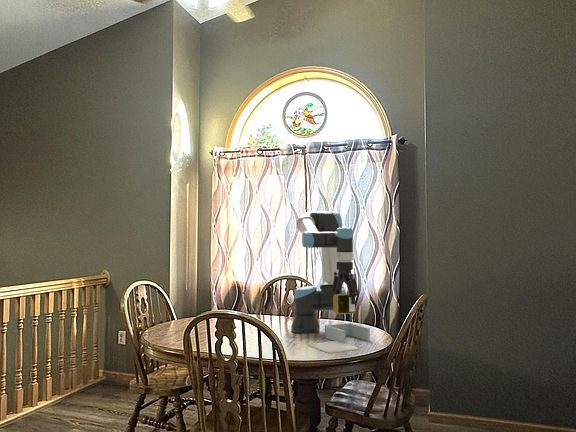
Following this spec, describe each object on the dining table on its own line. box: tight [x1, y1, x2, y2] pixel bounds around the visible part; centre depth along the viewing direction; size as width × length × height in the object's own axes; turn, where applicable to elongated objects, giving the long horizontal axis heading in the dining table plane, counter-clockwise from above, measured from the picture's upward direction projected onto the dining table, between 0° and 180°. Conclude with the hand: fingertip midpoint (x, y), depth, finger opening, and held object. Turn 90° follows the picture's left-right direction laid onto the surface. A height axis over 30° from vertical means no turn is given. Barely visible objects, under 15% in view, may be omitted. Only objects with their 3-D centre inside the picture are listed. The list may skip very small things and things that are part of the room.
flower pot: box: [333, 293, 356, 315], centre depth 241 cm, size 9×9×9 cm
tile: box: [307, 340, 360, 354], centre depth 239 cm, size 18×16×1 cm
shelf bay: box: [324, 322, 371, 344], centre depth 257 cm, size 16×15×6 cm
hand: (344, 309), depth 241 cm, fingers closed on flower pot, 10 cm apart
